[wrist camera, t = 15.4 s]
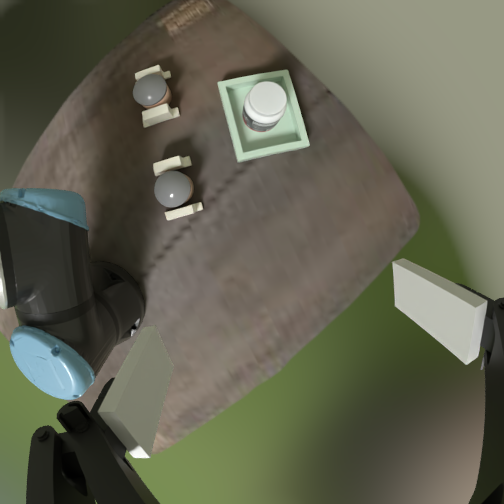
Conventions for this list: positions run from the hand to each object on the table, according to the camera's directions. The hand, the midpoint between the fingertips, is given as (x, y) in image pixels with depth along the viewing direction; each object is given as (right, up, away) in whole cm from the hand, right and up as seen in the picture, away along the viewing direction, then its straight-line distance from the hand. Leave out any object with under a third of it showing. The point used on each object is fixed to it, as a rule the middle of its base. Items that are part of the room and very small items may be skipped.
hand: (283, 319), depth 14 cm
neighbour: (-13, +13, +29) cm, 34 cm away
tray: (0, +25, +27) cm, 37 cm away
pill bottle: (0, +25, +26) cm, 36 cm away
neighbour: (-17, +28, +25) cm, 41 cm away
